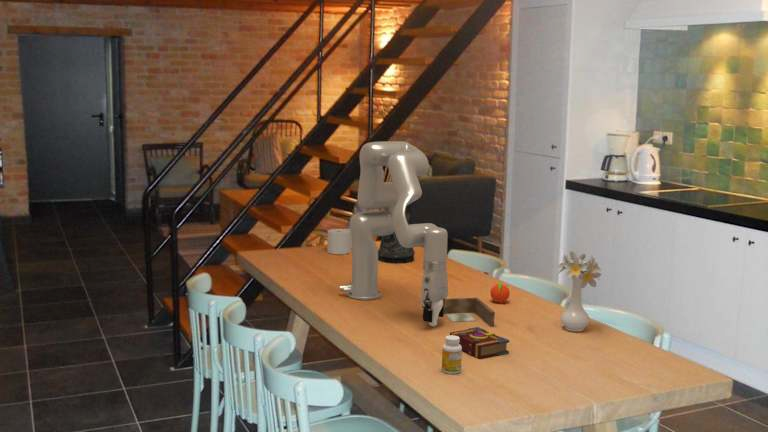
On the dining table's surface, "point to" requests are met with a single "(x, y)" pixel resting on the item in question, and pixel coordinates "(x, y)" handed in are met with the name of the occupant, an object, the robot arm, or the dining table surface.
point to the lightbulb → (435, 311)
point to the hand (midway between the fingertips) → (433, 318)
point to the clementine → (500, 293)
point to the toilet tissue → (339, 241)
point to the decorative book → (481, 342)
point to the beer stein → (394, 248)
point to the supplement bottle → (451, 355)
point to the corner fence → (468, 310)
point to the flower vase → (578, 289)
